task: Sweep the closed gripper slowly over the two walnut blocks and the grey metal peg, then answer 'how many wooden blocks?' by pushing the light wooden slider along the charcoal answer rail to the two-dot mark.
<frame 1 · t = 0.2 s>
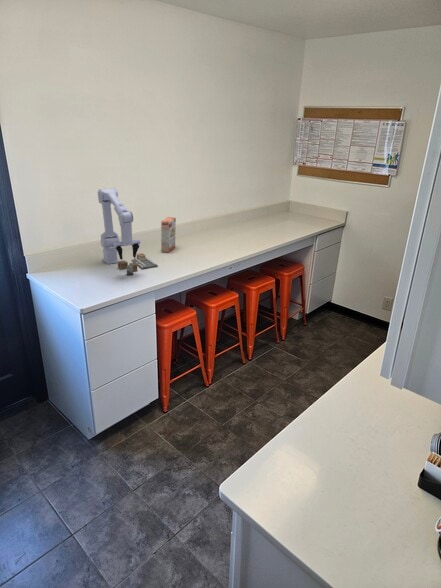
hand: (127, 258, 220), 10 cm above the counter, tool pointing down, fingers open, 7 cm apart
cracker box: (168, 250, 270), on the counter
metal peg: (130, 274, 225), on the counter
answer rail: (144, 263, 242), on the counter
walnut block 1: (123, 268, 234), on the counter
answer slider: (141, 256, 244), point 3 cm above the counter, slide at -5.0 cm
walnut block 2: (133, 270, 231), on the counter
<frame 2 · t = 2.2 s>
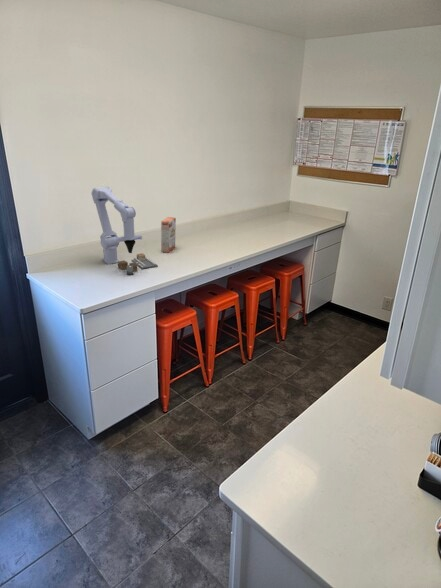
hand: (130, 252, 227), 10 cm above the counter, tool pointing down, fingers closed
nothing on the counter moved.
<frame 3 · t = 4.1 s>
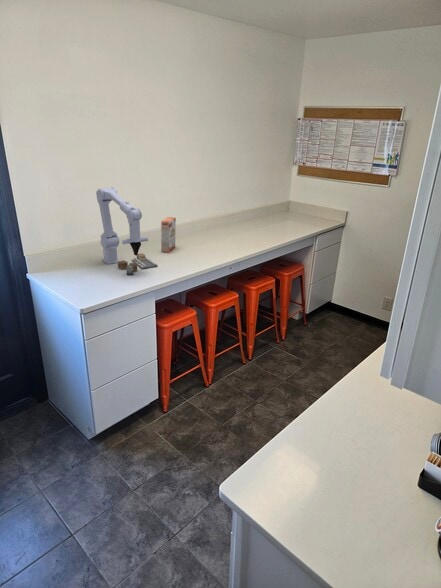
hand: (135, 254, 225), 10 cm above the counter, tool pointing down, fingers closed
nothing on the counter moved.
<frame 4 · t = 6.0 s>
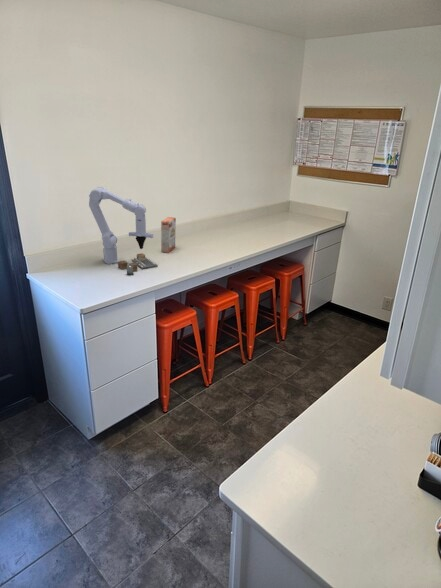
hand: (141, 248, 239), 9 cm above the counter, tool pointing down, fingers closed
nothing on the counter moved.
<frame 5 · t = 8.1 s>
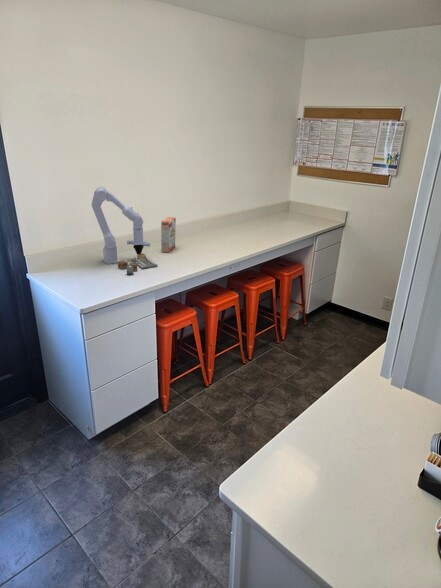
hand: (139, 256, 247), 2 cm above the counter, tool pointing down, fingers closed
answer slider: (141, 257, 244), point 3 cm above the counter, slide at -4.1 cm, touching gripper
everything else where it was.
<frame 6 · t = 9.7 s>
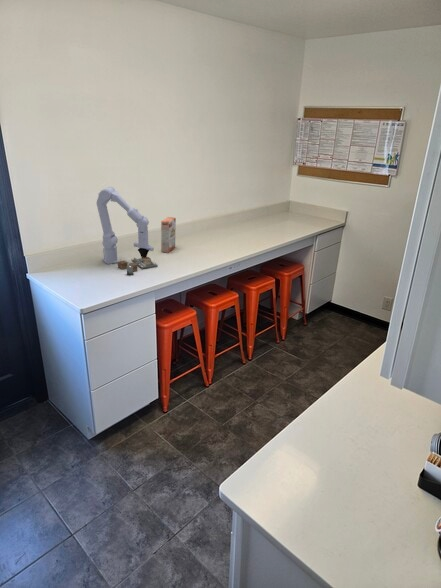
hand: (144, 259, 241), 2 cm above the counter, tool pointing down, fingers closed
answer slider: (146, 260, 238), point 3 cm above the counter, slide at 3.1 cm, touching gripper
everything else where it was.
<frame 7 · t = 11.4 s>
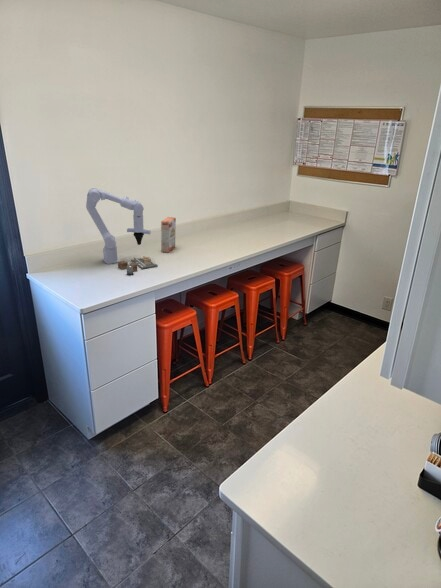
hand: (139, 244, 244), 10 cm above the counter, tool pointing down, fingers closed
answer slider: (146, 260, 238), point 3 cm above the counter, slide at 3.2 cm
everything else where it was.
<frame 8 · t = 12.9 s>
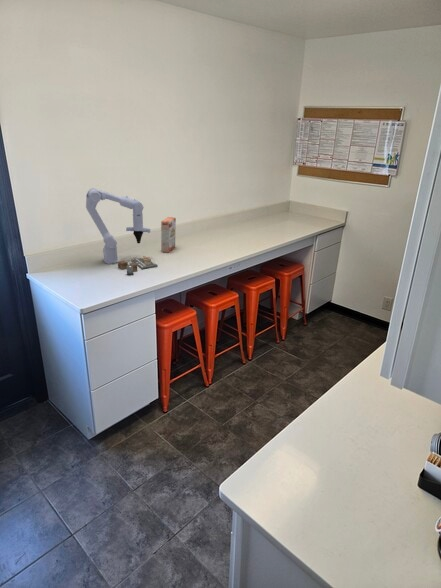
hand: (138, 242, 246), 10 cm above the counter, tool pointing down, fingers closed
nothing on the counter moved.
at the end: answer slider slide at 3.2 cm; walnut block 2 moved 0.1 cm from its start; metal peg moved 0.0 cm from its start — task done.
